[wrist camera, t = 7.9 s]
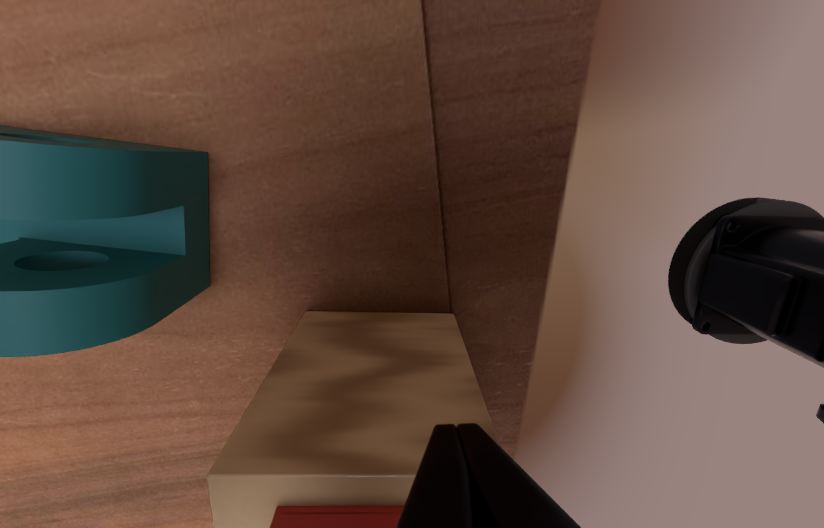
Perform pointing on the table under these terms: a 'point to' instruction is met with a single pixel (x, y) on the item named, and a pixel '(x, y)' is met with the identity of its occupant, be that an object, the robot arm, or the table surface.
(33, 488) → the table surface
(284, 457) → the stand
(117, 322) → the bracket
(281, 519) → the book
